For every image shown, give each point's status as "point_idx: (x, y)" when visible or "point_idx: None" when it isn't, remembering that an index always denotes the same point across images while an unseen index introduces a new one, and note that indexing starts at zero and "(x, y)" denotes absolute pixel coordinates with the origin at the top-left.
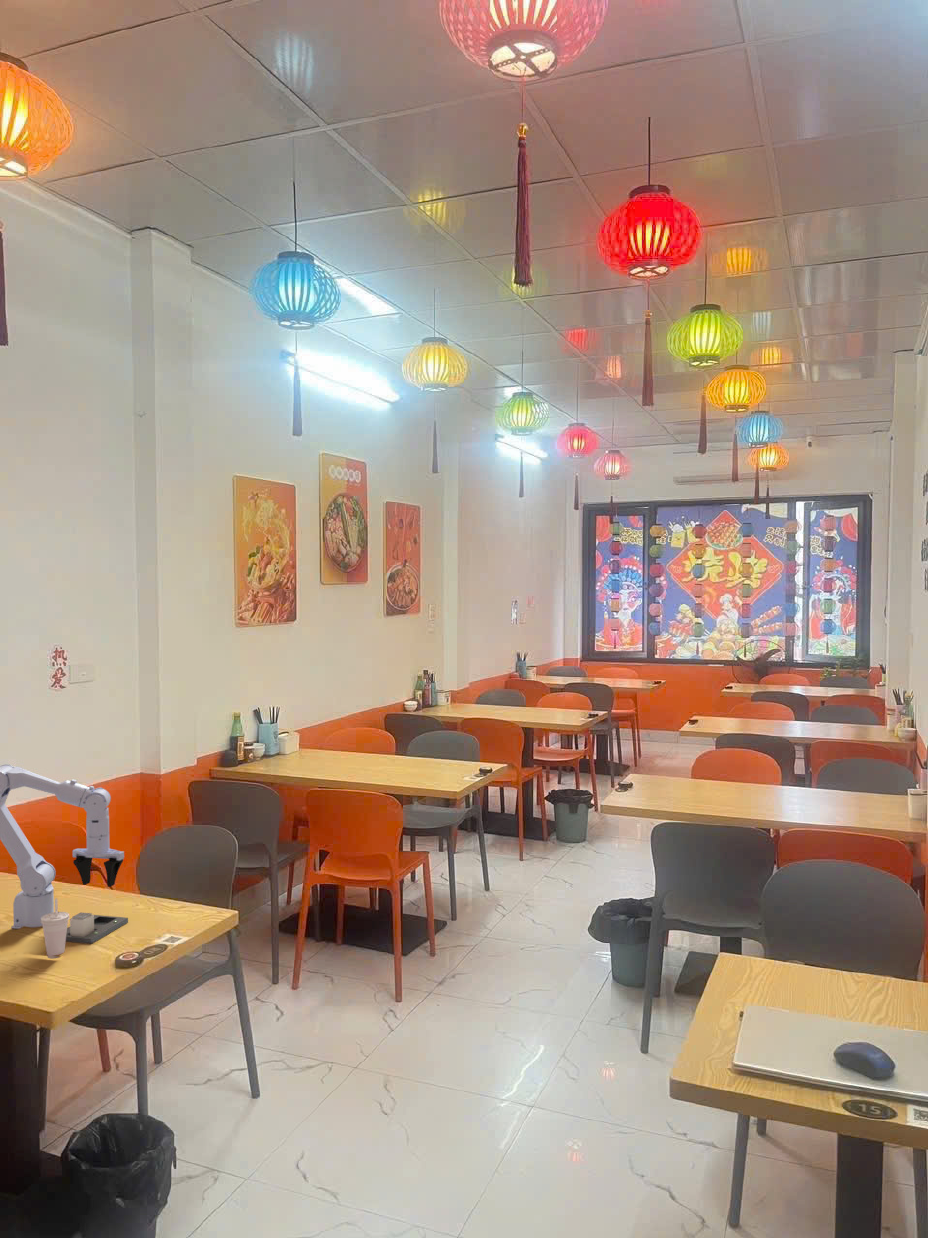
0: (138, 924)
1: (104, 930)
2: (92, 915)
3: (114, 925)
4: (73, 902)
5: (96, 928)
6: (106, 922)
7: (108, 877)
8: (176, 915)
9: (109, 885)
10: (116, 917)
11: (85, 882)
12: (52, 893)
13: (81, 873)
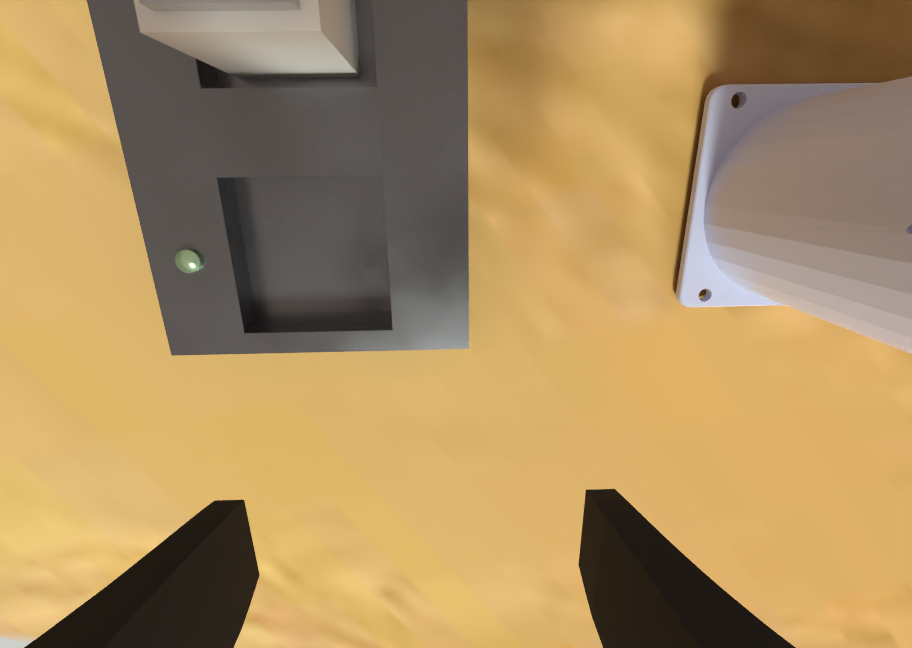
0: (152, 365)
1: (118, 70)
2: (137, 7)
3: (135, 194)
4: (766, 554)
5: (220, 97)
6: (327, 307)
7: (105, 605)
8: (59, 525)
9: (201, 512)
10: (255, 341)
11: (596, 522)
12: (910, 280)
13: (708, 619)
